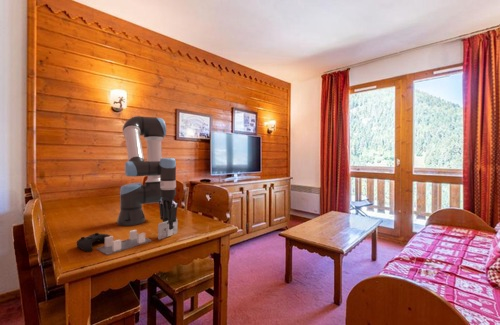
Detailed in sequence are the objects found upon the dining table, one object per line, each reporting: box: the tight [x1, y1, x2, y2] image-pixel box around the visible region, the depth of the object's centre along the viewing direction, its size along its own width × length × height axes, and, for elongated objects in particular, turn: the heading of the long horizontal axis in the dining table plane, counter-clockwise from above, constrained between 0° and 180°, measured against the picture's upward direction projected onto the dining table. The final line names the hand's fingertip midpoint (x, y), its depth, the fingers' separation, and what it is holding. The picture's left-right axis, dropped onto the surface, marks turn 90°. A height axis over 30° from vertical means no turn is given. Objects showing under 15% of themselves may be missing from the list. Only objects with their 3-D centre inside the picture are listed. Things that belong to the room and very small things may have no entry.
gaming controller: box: [76, 232, 112, 253], centre depth 110 cm, size 14×6×10 cm
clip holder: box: [96, 229, 153, 256], centre depth 110 cm, size 10×20×4 cm, turn 144°
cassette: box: [157, 217, 179, 241], centre depth 123 cm, size 12×2×8 cm, turn 151°
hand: (168, 234), depth 123 cm, fingers closed on cassette, 2 cm apart
